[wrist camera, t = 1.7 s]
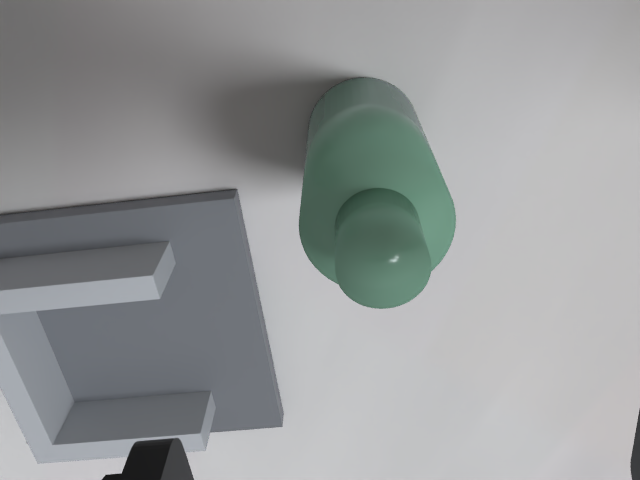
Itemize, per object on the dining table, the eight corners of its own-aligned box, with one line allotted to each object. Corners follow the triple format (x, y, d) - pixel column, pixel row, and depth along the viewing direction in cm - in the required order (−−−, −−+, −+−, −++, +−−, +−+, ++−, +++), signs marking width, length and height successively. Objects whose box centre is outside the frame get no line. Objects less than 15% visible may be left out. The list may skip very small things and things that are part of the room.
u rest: (237, 189, 28) (223, 229, 24) (283, 413, 34) (278, 470, 31) (-51, 220, 29) (-104, 263, 25) (47, 432, 35) (16, 489, 32)
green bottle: (415, 70, 25) (472, 177, 15) (420, 177, 27) (473, 331, 17) (301, 84, 26) (281, 198, 15) (315, 188, 28) (307, 347, 18)
